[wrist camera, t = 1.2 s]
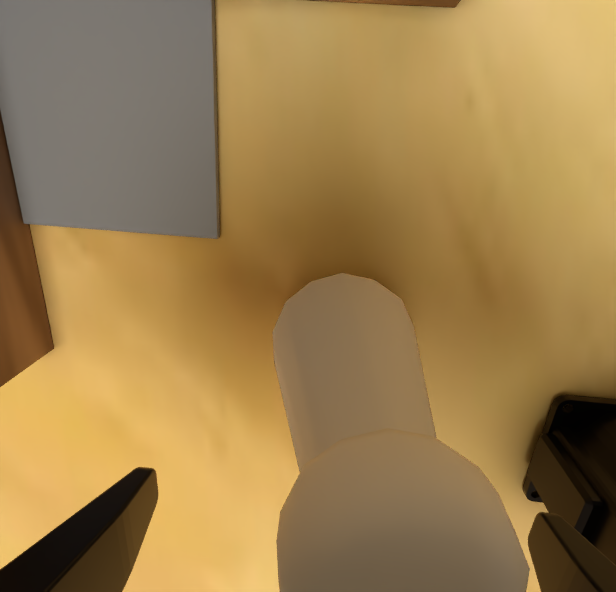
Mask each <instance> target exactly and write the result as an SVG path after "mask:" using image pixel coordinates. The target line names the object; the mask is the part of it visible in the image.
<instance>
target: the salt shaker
mask: <svg viewBox="0 0 616 592" xmlns="http://www.w3.org/2000/svg"><path fill="white" fill-rule="evenodd" d="M273 349H274V363H275V367H276V371H277V376H278V380H279V384H280V389H281V393H282V397H283V402H284V406H285V410H286V415H287V419H288V423H289V428H290V432H291V436H292V441H293V445H294V449H295V454H296V458H297V462H298V467H299V471H300V474H299V476H298V478H297V480H296V482H295V484H294V486H293V488H292V490H291V492H290V494H289V496H288V497H287V499H286V501H285V503H284V505H283V507H282V510H281V512H280V518H279V526H278V534H277V560H278V579H279V589H280V592H526V588H527V582H528V576H529V570H530V569H529V566H528V563H527V561H526V558H525V556H524V553H523V550H522V548H521V545H520V543H519V540H518V538H517V535H516V532H515V530H514V528H513V526H512V523H511V521H510V519H509V517H508V514H507V512H506V510H505V508H504V505H503V503H502V501H501V499H500V496H499V494H498V492H497V491H496V490H495V488H494V487H493V486H492V484H491V483H490V481H489V480H488V479H487V477H486V476H485V475H484V473H483V472H482V471H481V469H480V468H479V467H478V466H476V465H475V464H473V463H472V462H471V461H469V460H468V459H466V458H465V457H463V456H462V455H460V454H459V453H457V452H456V451H454V450H453V449H451V448H450V447H448V446H447V445H445V444H444V443H442V442H441V441H439V440H438V439H436V434H435V429H434V424H433V419H432V414H431V409H430V404H429V399H428V394H427V389H426V384H425V379H424V374H423V369H422V364H421V359H420V354H419V349H418V344H417V339H416V334H415V329H414V326H413V324H412V321H411V319H410V317H409V314H408V312H407V310H406V308H405V305H404V303H403V301H402V299H401V298H399V297H398V296H397V295H395V294H394V293H392V292H391V291H390V290H388V289H387V288H385V287H384V286H383V285H381V284H380V283H378V282H377V281H376V280H373V279H369V278H364V277H359V276H355V275H350V274H346V273H339V274H335V275H332V276H328V277H325V278H321V279H317V280H314V281H311V282H310V283H308V284H307V285H306V286H304V287H303V288H302V289H301V290H299V291H298V292H297V293H296V294H294V295H293V296H292V297H291V298H289V299H288V300H287V301H286V302H285V304H284V307H283V309H282V311H281V314H280V316H279V318H278V320H277V323H276V325H275V327H274V330H273Z"/></svg>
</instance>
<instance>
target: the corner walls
mask: <svg viewBox="0 0 616 592" xmlns="http://www.w3.org/2000/svg"><path fill="white" fill-rule="evenodd" d="M313 1H334V2H354V3H375V4H395V5H416V6H436V7H455V6H456V5H457V4H458V3H459V2H460V1H461V0H313ZM52 349H54V347H53V342H52V337H51V332H50V327H49V322H48V317H47V312H46V307H45V302H44V297H43V292H42V287H41V282H40V278H39V273H38V268H37V263H36V258H35V253H34V248H33V243H32V238H31V233H30V228H29V224H24V222H23V217H22V212H21V208H20V203H19V198H18V193H17V188H16V183H15V179H14V174H13V169H12V164H11V159H10V154H9V149H8V145H7V140H6V135H5V130H4V125H3V120H2V116H1V111H0V387H1V386H2V385H4V384H5V383H7V382H8V381H9V380H11V379H12V378H14V377H15V376H16V375H18V374H19V373H20V372H22V371H23V370H25V369H26V368H27V367H29V366H30V365H32V364H33V363H34V362H36V361H37V360H39V359H40V358H41V357H43V356H44V355H45V354H47V353H48V352H50V351H51V350H52Z"/></svg>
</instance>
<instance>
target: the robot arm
mask: <svg viewBox="0 0 616 592" xmlns="http://www.w3.org/2000/svg"><path fill="white" fill-rule="evenodd" d="M567 404H569V405H568V406H567V407H565V408H563V406H565V405H567ZM527 474H528V475H527V477H526V480H525V483H524V486H523V491H524V493H525V495H526V497H527V499H529V500H530V501H535V502H543V503H544V504H545V506H546V508H547V510H548V512H549V513H545V512H539V513H538V514H537V515H536V517H535V520H534V522H533V525H532V528H531V530H530V533H529V536H528V547H529V551H530V554H531V558H532V561H533V565H534V568H535V572H536V575H537V579H538V582H539V586H540V589H541V592H616V400H615V399H605V398H594V397H584V396H573V395H561V396H559V397H557V398H556V399H555V400H554V401H553V404H552V406H551V409H550V412H549V415H548V418H547V421H546V423H545V426H544V429H543V432H542V434H541V436H540V437H539V439H538V442H537V445H536V448H535V451H534V454H533V457H532V459H531V462H530V465H529V468H528V471H527ZM157 500H158V486H157V476H156V471H155V470H154V469H153V468H145V467H138V468H136V469H134V470H133V471H131V472H130V473H129V474H127V475H126V476H125V477H123V478H122V479H121V480H119V481H118V482H117V483H115V484H114V485H113V486H111V487H110V488H109V489H107V490H106V491H105V492H103V493H102V494H101V495H99V496H98V497H97V498H95V499H94V500H93V501H91V502H90V503H89V504H87V505H86V506H85V507H83V508H82V509H81V510H79V511H78V512H77V513H75V514H74V515H73V516H71V517H70V518H69V519H67V520H66V521H65V522H63V523H62V524H61V525H59V526H58V527H57V528H55V529H54V530H53V531H51V532H50V533H48V534H47V535H46V536H44V537H43V538H42V539H40V540H39V541H38V542H36V543H35V544H34V545H32V546H31V547H30V548H28V549H27V550H26V551H24V552H23V553H22V554H20V555H19V556H18V557H16V558H15V559H14V560H12V561H11V562H10V563H8V564H7V565H6V566H4V567H3V568H2V569H0V592H122V591H123V589H124V587H125V585H126V583H127V580H128V578H129V576H130V574H131V571H132V569H133V566H134V564H135V561H136V559H137V556H138V553H139V550H140V548H141V545H142V542H143V540H144V537H145V534H146V531H147V529H148V526H149V523H150V520H151V518H152V515H153V512H154V510H155V507H156V504H157Z"/></svg>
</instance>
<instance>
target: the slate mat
mask: <svg viewBox="0 0 616 592" xmlns="http://www.w3.org/2000/svg"><path fill="white" fill-rule="evenodd" d="M0 111H1V116H2V120H3V125H4V130H5V135H6V140H7V145H8V149H9V154H10V159H11V164H12V169H13V174H14V179H15V183H16V188H17V193H18V198H19V203H20V208H21V212H22V217H23V222H24V224H36V225H48V226H61V227H74V228H86V229H99V230H111V231H124V232H137V233H149V234H162V235H175V236H187V237H200V238H213V239H218V238H219V237H220V223H219V177H218V131H217V85H216V39H215V0H0Z"/></svg>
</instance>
